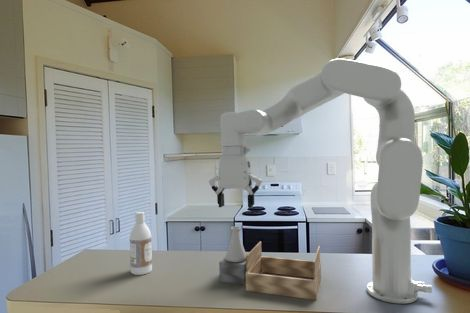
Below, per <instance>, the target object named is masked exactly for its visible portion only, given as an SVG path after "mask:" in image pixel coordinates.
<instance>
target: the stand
mask: <svg viewBox="0 0 470 313" xmlns="http://www.w3.org/2000/svg"><path fill="white" fill-rule="evenodd" d="M225 257H226V256H225ZM225 257H223V258H222V259H221V260H220V261H219V262H218V263H219V268H218V269H219V282H222V283H228V284H237V285H243V286H244V285H245V286H246V260H245V261H244V262H230V261H226V259H225Z"/></svg>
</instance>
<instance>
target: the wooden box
mask: <svg viewBox="0 0 470 313" xmlns="http://www.w3.org/2000/svg"><path fill="white" fill-rule="evenodd" d="M262 253H263V252H262V241H261V240H260V241H259V242H257V244H255V246H254V247H253V248H252V249H251V250H250V251H249V252H248V253H246V283H245V291H247V292H254V293H261V294H262V293H263V294H268V295H269V294H270V295H278V296H284V297H293V298H299V299H306V300H313V301H314V300H315V301H317V298H318V293H319V288H320V285H321V280H322V262H321V246H320V245H318V247H317V250H316V252H315V256H314V258H313V260H308V259H307V260H306V259H296V258H285V257H276V256H266V255H265V256H264V255H262ZM265 273H268V274H265ZM275 274H276V275H275ZM277 274H278V275H277ZM282 275H283V276H282ZM284 275H285V276H284ZM286 275H287V276H286ZM291 276H293V277H291ZM294 276H295V277H294ZM301 277H304V278H301ZM308 278H313V279H308Z"/></svg>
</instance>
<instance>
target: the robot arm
mask: <svg viewBox="0 0 470 313" xmlns="http://www.w3.org/2000/svg"><path fill="white" fill-rule="evenodd" d="M344 94H347V95H351V96H356V97H359V98H363V100H364V101H365V102H366V103H367V104H368V105H370V106H371V107H374V108H375V109H376V110H377V111H376V112H377V113H378V117H379V127H378V129H379V132H378V138H377V139H378V140H377V146H376V147H377V148H376V155H375V159H376V163H377V165H378V176H377V182H376V183H375V184H374V185H373V186H372V188H371V191H370V209H371V210H370V211H371V232H372V233H371V255H372V256H371V257H372V259H371V260H372V262H371V263H372V264H371V265H372V266H371V267H372V280H371V281H369V282H368V283H367V285H366V292H367V293H368V294H369V295H370V296H371V297H373V298H376V299H378V300H380V301H382V302H387V303H392V304H398V305H401V304H403V305H406V304H412V303H414V302H416V301H417V300H418V298H419V292H422V293H428V294H432V293H433V290H432V289H433V287H432V285H431V284H425V282H424V281H415V280H414V279H413V278H412V259H411V258H412V255H411V254H412V252H411V251H412V250H411V248H412V247H411V245H412V244H411V243H412V242H411V240H412V237H411V235H412V233H411V232H412V231H411V229H412V228H411V227H412V226H411V217H412V216H413V215H414V214H415V212H416V211H417V210H418V207H419V204H420V195H421V188H422V186H421V184H422V176H423V166H424V165H423V164H424V162H423V161H424V160H423V158H424V157H423V153H422V151H421V148H420V147H419V145H418V144H417V143H415V141H414V140H415V122H416V116H415V108H414V105H413V103H412V101H411V98H410V97H409V96H408V95H407V94H406V92H405V91H404V90H402V80H401V77H400V75H399V74H398V72H396V71H395V70H394V69H391V68H389V67H386V66H382V65H378V64H372V63H367V62H362V61H357V60H353V59H348V58H347V59H346V58H334V59H330V60H329V61H327V62H326V63H325V64H324V65H323V67H322V69H321V70H320V72H318V73H317V74H315V75H313V76H311V77H309V78H307V79H306V80H304V81H302V82H299V83H298V84H296V85H295V86H293V87H291V88H290V89H289V90H288V91H287V92H286V94H285V96H283V98H281V100H279V101H278V102H277V103H274V104H273V105H272V106H269V107H268V108H265V109H264V110H259V109H247V110H244V111H239V112H237V111H233V112H232V111H231V112H224V113H222V114H221V115H220V139H221V156H220V157H219V162H218V170H217V172H218V173H217V175H216V176H214V177H213V178H211V179H210V180H208V182H209V185H210V187H211V189H212V190H213V192H214V193H215V195H216V196H217V205H218V208H222V207H224V206H225V194H224V191H225V190H226V189H227V190H230V189H231V190H232V189H233V190H239V189H241V190H243V189H244V190H245V191H246V192H247V193H248V194H247V208H248V209H251V208H253V207H254V205H255V194H256V193H257V191H258V190H259V189H260V188H261V185H262V183H263V179H262V178H258V177H257V176H255V175H253V172H252V166H251V161H250V156H248V155H247V153H250V152H251V147H247V146H246V135H253V136H254V135H255V136H266V135H269V134H270V133H272V132H274V131H276V130H278V129H280V128H282V127H284V126H286V125H288V124H289V123H291V122H293V121H294V120H296V119H298V118H300V117H302V116H304V115H306V114H307V113H309V112H311V111H313V110H314V109H316V108H319V107H320V106H323V105H324V104H327V103H328V102H330V101H333V100H334V99H337V98H339V97H341V96H342V95H344ZM217 181H218V184H217V185H218V186H217V185H216V182H217ZM253 182H254V183H255V185H254V186H253ZM252 186H253V187H252Z"/></svg>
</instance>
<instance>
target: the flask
mask: <svg viewBox="0 0 470 313" xmlns="http://www.w3.org/2000/svg"><path fill="white" fill-rule="evenodd" d="M241 229H242V228H241V226H237V225H236V226H231V227H230V230H231V237H230V241H229V244H228V249H227V252H226V254H225V259H226V261H230V262H244V261H245V260H246V255H247V252H246V250H245V247H244V244H243V242H242V238H241Z"/></svg>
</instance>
